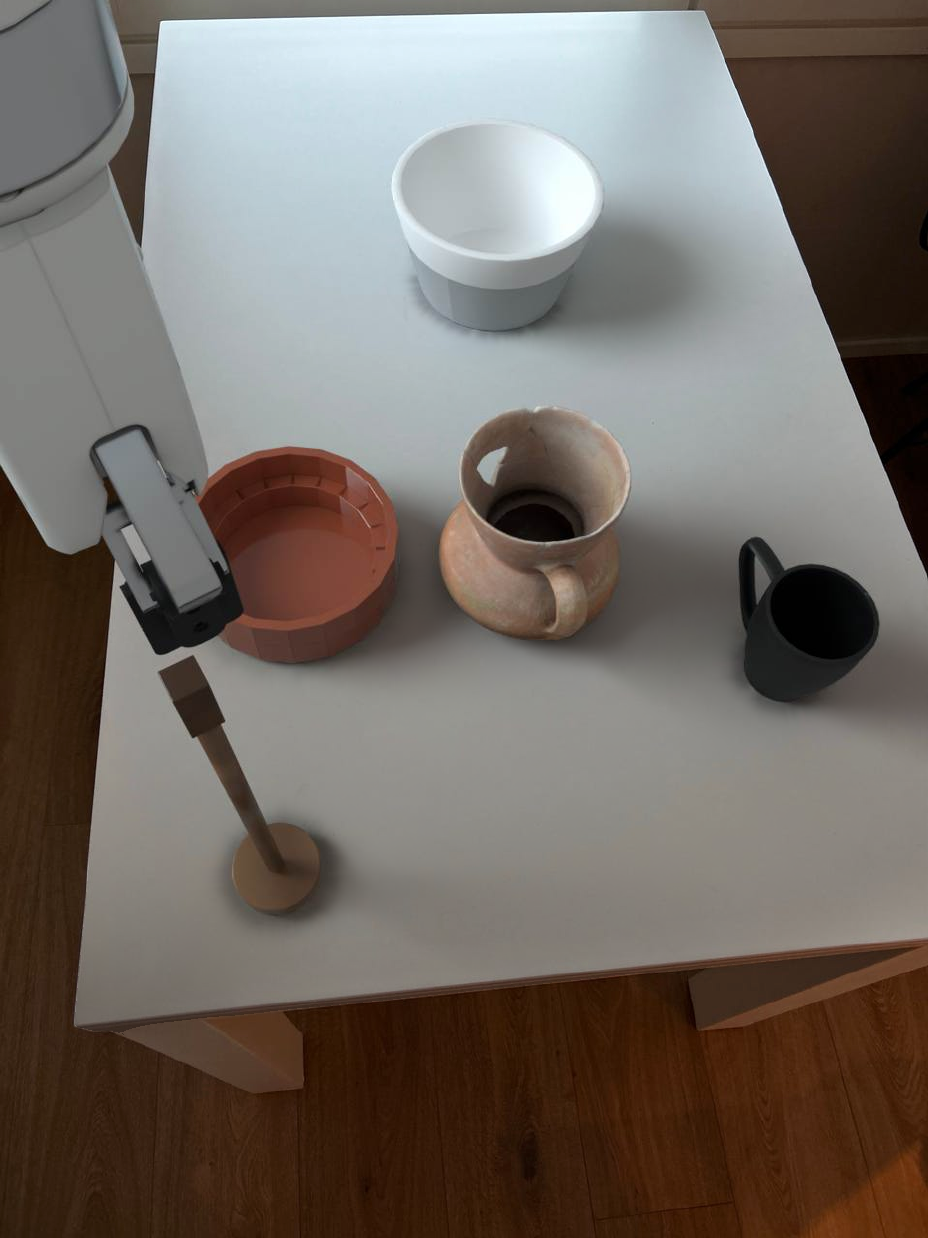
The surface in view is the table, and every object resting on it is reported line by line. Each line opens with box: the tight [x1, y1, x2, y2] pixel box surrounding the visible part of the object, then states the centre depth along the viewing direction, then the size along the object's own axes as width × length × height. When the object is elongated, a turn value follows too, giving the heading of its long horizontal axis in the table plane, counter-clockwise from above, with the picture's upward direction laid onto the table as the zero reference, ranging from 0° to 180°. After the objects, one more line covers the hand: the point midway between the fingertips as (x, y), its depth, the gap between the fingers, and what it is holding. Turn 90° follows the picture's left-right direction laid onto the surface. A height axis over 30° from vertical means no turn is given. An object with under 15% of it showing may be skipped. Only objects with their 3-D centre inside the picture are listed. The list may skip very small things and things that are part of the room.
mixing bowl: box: [193, 445, 400, 664], centre depth 76 cm, size 17×17×6 cm
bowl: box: [390, 118, 605, 332], centre depth 91 cm, size 19×19×11 cm
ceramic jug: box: [438, 404, 632, 641], centre depth 73 cm, size 18×14×14 cm
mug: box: [738, 536, 880, 703], centre depth 73 cm, size 8×12×10 cm
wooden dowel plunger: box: [157, 654, 323, 916], centre depth 53 cm, size 6×6×32 cm
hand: (140, 526), depth 34 cm, fingers open, 9 cm apart
